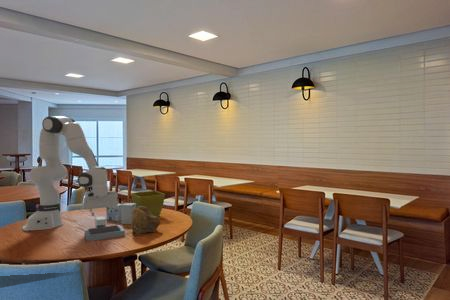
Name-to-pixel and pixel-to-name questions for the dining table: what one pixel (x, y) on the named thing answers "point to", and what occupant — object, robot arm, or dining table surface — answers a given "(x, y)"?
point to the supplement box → (127, 212)
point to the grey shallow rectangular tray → (104, 232)
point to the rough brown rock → (143, 221)
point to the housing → (100, 222)
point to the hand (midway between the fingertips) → (101, 214)
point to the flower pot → (149, 201)
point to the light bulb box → (114, 213)
